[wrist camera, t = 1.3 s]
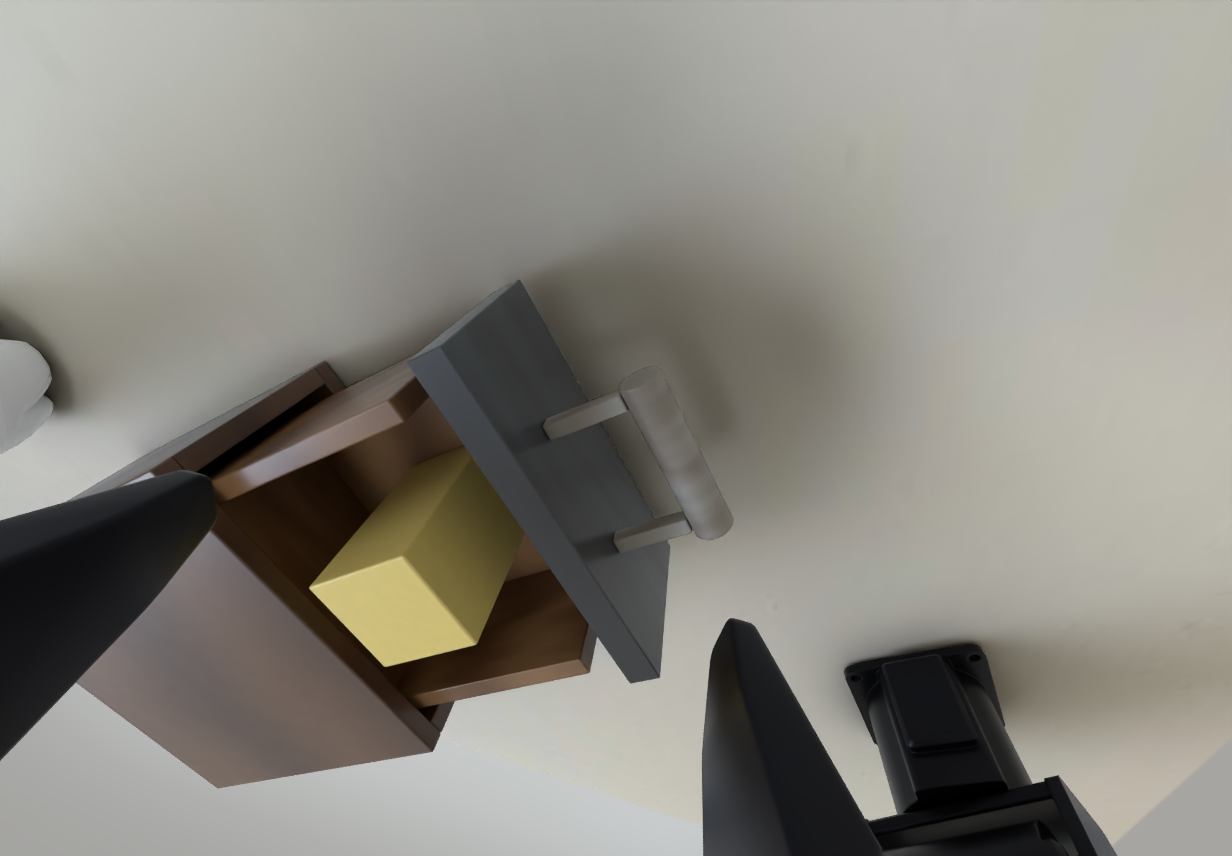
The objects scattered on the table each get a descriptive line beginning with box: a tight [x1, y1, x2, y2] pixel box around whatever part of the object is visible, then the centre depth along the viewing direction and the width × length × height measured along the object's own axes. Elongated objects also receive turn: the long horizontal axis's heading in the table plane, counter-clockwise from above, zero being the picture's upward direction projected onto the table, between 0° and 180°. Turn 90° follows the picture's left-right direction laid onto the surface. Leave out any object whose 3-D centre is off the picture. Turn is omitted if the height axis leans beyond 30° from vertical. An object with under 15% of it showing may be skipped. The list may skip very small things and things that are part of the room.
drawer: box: [206, 280, 733, 709], centre depth 20 cm, size 17×13×7 cm
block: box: [309, 446, 525, 667], centre depth 20 cm, size 4×4×7 cm
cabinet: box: [67, 361, 455, 788], centre depth 25 cm, size 14×15×9 cm
